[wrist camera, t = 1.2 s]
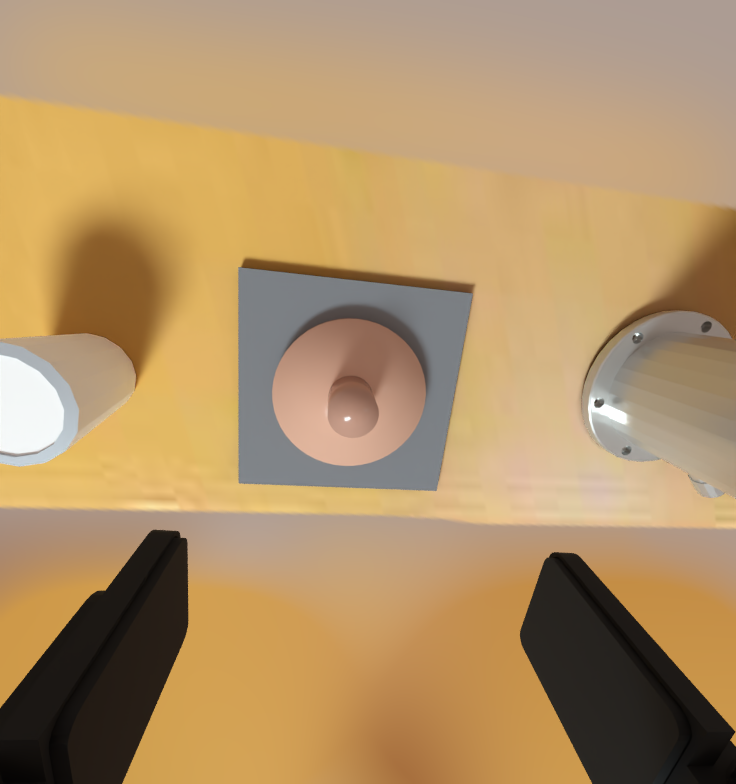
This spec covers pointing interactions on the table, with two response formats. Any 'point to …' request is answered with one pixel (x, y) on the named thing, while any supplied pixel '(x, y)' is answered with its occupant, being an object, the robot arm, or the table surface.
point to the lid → (348, 392)
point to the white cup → (57, 392)
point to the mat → (315, 306)
